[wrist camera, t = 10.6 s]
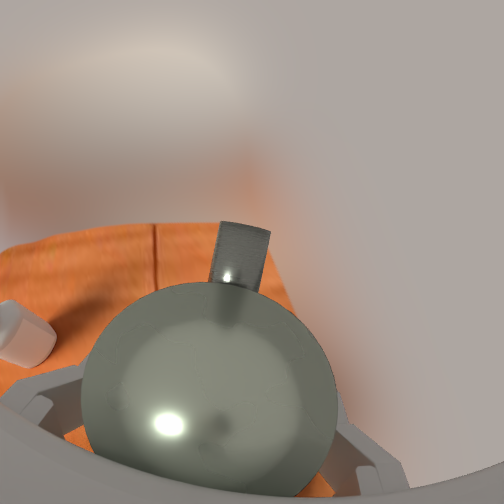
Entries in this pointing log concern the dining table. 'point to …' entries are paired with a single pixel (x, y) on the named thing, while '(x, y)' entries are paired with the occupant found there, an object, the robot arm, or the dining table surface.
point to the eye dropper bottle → (24, 335)
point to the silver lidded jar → (213, 382)
